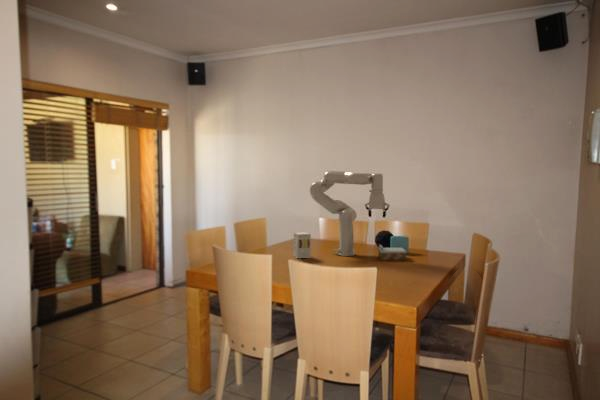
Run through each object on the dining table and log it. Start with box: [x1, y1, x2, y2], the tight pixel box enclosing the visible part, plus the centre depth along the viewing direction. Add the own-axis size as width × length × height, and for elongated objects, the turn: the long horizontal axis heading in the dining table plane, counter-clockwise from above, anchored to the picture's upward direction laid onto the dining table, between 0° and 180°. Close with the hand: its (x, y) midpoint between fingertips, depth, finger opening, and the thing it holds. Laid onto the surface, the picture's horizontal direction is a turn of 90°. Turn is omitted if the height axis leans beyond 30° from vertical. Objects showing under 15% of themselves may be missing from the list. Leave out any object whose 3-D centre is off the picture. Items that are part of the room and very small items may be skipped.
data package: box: [390, 235, 410, 255], centre depth 298 cm, size 12×4×12 cm, turn 93°
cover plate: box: [377, 245, 406, 253], centre depth 280 cm, size 16×13×5 cm
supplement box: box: [293, 231, 312, 260], centre depth 285 cm, size 10×9×17 cm
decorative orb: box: [374, 229, 394, 248], centre depth 312 cm, size 14×15×15 cm
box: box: [377, 250, 407, 261], centre depth 280 cm, size 16×11×5 cm
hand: (377, 217), depth 284 cm, fingers open, 9 cm apart
